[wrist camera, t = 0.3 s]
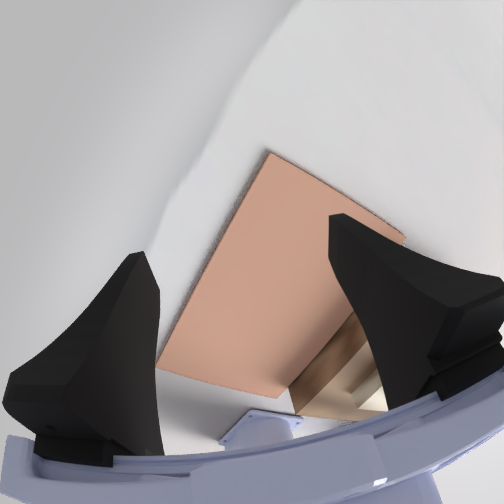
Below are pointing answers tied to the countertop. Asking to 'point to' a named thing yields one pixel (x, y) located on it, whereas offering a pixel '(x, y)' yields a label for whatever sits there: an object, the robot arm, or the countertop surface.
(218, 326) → the mat
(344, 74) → the countertop surface
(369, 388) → the cream rectangular block
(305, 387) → the block
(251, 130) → the countertop surface
